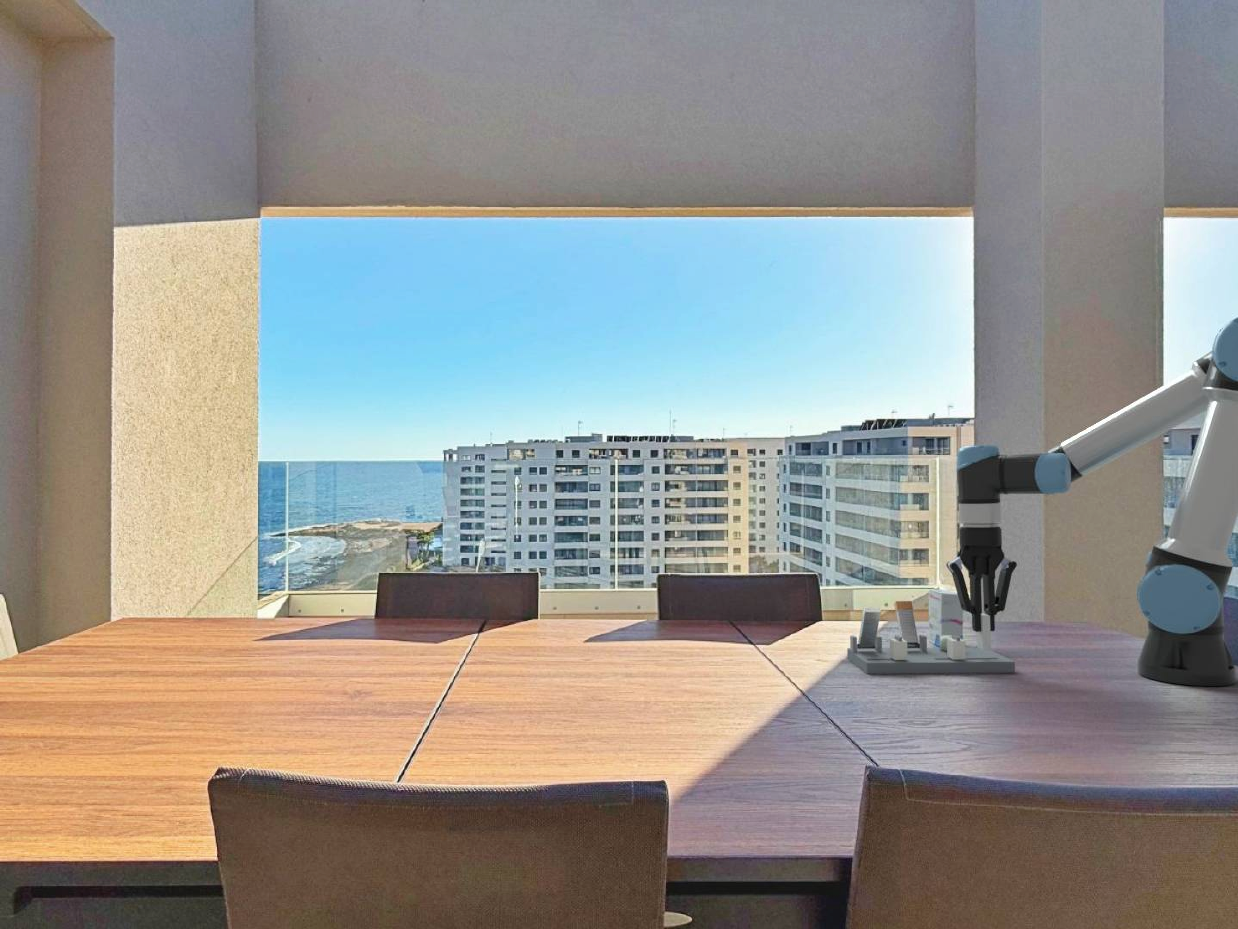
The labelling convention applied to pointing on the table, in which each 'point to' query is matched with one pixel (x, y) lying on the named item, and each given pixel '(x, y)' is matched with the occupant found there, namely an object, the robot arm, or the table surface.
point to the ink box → (944, 615)
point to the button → (944, 641)
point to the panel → (926, 660)
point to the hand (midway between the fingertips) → (984, 648)
